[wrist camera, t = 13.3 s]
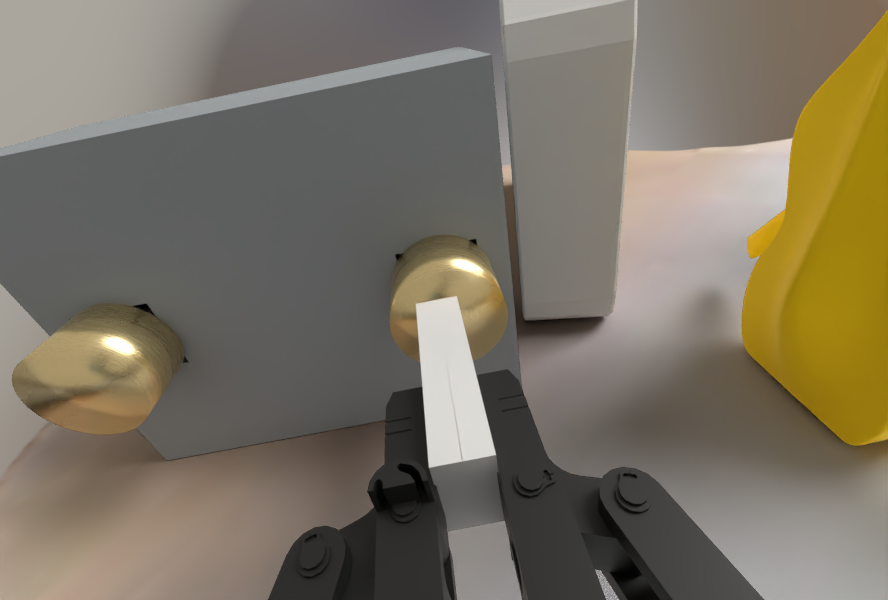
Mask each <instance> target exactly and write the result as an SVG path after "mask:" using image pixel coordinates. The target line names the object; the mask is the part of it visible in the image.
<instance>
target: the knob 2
mask: <svg viewBox="0 0 888 600" xmlns="http://www.w3.org/2000/svg"><path fill="white" fill-rule="evenodd" d="M453 296H457V299H458V303H459V307H460V311H461V315H462V319H463V323H464V327H465V331H466V335H467V339H468V343H469V347H470V352H471V356H472V360H473V361H474V360H477V359H479V358H480V357H482V356H484V355H485V354H487V353H488V352H489V351H490V350H491V349H493V348H494V347H495V346H496V344H497V343H498V342H499V341H500V339H501V337H502V336H503V334H504V332H505V329H506V326H507V321H508V310H507V305H506V302H505V300H504V297H503V294H502V292H501V289H500V287H499V284H498V281H497V279H496V276H495V274H494V271H493V268H492V266H491V263H490V260H489V259H488V257H487V255H486V254H485V253H484V251H483V250H482V249H481V248H480V247H479V246H477V245H476V244H475V243H473V242H472V241H470V240H468V239H465V238H463V237H459V236H455V235H435V236H430V237H426V238H424V239H421V240H419V241H417V242H415V243H414V244H412V245H411V246H409V247H408V248H407V249H406V250H405V251H404V252H403V253H402V254H401V255H400V257H399V258H398V260H397V262H396V264H395V266H394V269H393V273H392V281H391V303H390V330H391V334H392V336H393V339H394V341H395V342H396V344H397V346H398V347H399V348H400V349H401V350H402V351H403V352H404V353H405V354H406V355H408V356H409V357H411V358H412V359H414V360H416V361H418V362H420V351H419V338H418V326H417V313H416V304H417V303H422V302H427V301H432V300H438V299H443V298H448V297H453Z"/></svg>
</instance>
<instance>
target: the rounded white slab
mask: <svg viewBox="0 0 888 600" xmlns="http://www.w3.org/2000/svg"><path fill="white" fill-rule="evenodd" d="M499 3H500V4H499V5H500V22H501V36H502V51H503V64H504V77H505V90H506V102H507V116H508V128H509V142H510V155H511V168H512V181H513V194H514V207H515V220H516V233H517V246H518V259H519V272H520V285H521V298H522V310H523V317H524V319H525V320H545V319H564V318H583V317H602V316H608V315H609V314H611V313H612V312H613V308H614V302H615V297H616V285H617V272H618V260H619V248H620V236H621V223H622V211H623V199H624V187H625V175H626V162H627V150H628V138H629V126H630V114H631V113H630V112H631V101H632V89H633V76H634V64H635V53H636V40H637V0H499Z"/></svg>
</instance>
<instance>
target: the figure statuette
mask: <svg viewBox="0 0 888 600" xmlns="http://www.w3.org/2000/svg"><path fill="white" fill-rule="evenodd" d="M747 241H748V254H749V256H750V258H755V257H758V256H760V257H759V259H758V261H757V263H756V265H755V267H754V269H753V271H752V273H751V276H750V279H749V281H748V285H747V288H746V292H745V297H744V302H743V310H742V338H743V343H744V347H745V349H746V351H747V352H748V354H749V355H750V356H751V357H752V358H753V359H755V360H756V361H757V362H758V363H759V364H760V365H761V366H762V367H763V368H764V369H765V370H766V371H767V372H769V373H770V374H771V375H772V376H773V377H774V378H775V379H776V380H777V381H778V382H779V383H780V384H781V385H782V386H783V387H785V388H786V389H787V390H788V391H789V392H790V393H791V394H792V395H793V396H794V397H795V398H796V399H797V400H799V401H800V402H801V403H802V404H803V405H804V406H805V407H806V408H807V409H808V410H810V411H811V412H812V413H813V414H814V415H815V416H816V417H817V418H818V419H819V420H820V421H822V422H823V423H824V424H825V425H826V426H827V427H828V428H829V429H830V430H831V431H832V432H834V433H835V434H836V435H837V436H838V437H839V438H840V439H841V440H842V441H844V442H845V443H847V444H849V445H857V446H859V445H865V444H869V443H874V442H879V441H883V440H888V10H887V11H886V13H885V14H884V15H883V17H882V18H881V20H880V21H879V22H878V23H877V24H876V26H875V27H874V28H873V29H872V31H871V32H870V33H869V34H868V35H867V36H866V38H865V39H864V40H863V41H862V42H861V43H860V45H859V46H858V47H857V48H856V49H855V50H854V51H853V52H852V53H851V55H850V56H849V57H848V58H847V59H846V60H845V61H844V62H843V63H842V64H841V65H840V67H839V68H838V69H837V70H836V71H835V72H834V73H833V74H832V75H831V76H830V77H829V78H828V79H827V80H826V81H825V83H824V84H823V85H822V86H821V87H820V88H819V89H818V90H817V91H816V93H815V94H814V95H813V96H812V97H811V99H810V100H809V102H808V103H807V104H806V106H805V108H804V109H803V111H802V113H801V115H800V117H799V119H798V122H797V125H796V128H795V132H794V135H793V140H792V146H791V153H790V164H789V178H788V191H787V201H786V208H785V210H783V211H782V212H781V213H779V214H778V215H777V216H775V217H774V218H773V219H772V220H770V221H769V222H768V223H766V224H765V225H764V226H762V227H761V228H760V229H759V230H757V231H756V232H755V233H753V234H752V235H750V236H749V237H748V240H747Z"/></svg>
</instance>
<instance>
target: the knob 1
mask: <svg viewBox="0 0 888 600" xmlns="http://www.w3.org/2000/svg"><path fill="white" fill-rule="evenodd" d="M183 361H184V349H183V345H182V343H181V340H180V339H179V337H178V336H177V334H176V333H175V332H174V331H173V330H172V329H171V328H170V327H169V326H168V325H167V324H166V323H165V322H163V321H162V320H160V319H159V318H157V317H156V316H155V314H154V313H153V312H152V310H151V309H150V307H149V306H148V305H147V303H146V304H141V305H135V306H128V305H123V304H114V303H103V304H96V305H92V306H89V307H86V308H84V309H82V310H81V311H79V312H78V313H77V314H76V315H75V316H73V317H72V318H71V319H70V320H69V321H68V322H66V323H65V324H64V325H63V326H62V327H61V328H59V329H58V330H57V331H56V332H55V333H54V334H52V335H51V336H50V337H49V338H48V339H47V340H45V341H44V342H43V343H42V344H41V345H40V346H39V347H37V348H36V349H35V350H34V351H33V352H32V353H30V354H29V355H28V356H27V357H26V358H24V360H22V361H21V362H20V363H19V364H18V365H17V366H16V368H15V369H14V371H13V374H12V383H13V387H14V390H15V392H16V394H17V395H18V397H19V398H20V399H21V401H23V403H24V404H25V405H26V406H27V407H28V408H30V409H31V410H32V411H33V412H35V413H36V414H38V415H39V416H41V417H42V418H44V419H46V420H48V421H50V422H52V423H54V424H56V425H59V426H61V427H64V428H67V429H70V430H74V431H78V432H83V433H89V434H100V435H108V434H118V433H123V432H127V431H130V430H133V429H134V428H136V427H138V426H139V425H141V424H142V423H143V422H144V421H145V420H146V418H147V417H148V415H149V414H150V412H151V411H152V409H153V408H154V406H155V405H156V403H157V402H158V400H159V399H160V397H161V396H162V394H163V393H164V391H165V390H166V388H167V387H168V385H169V384H170V382H171V381H172V379H173V378H174V376H175V375H176V373H177V372H178V370H179V369H180V367H181V365H182V363H183Z"/></svg>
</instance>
